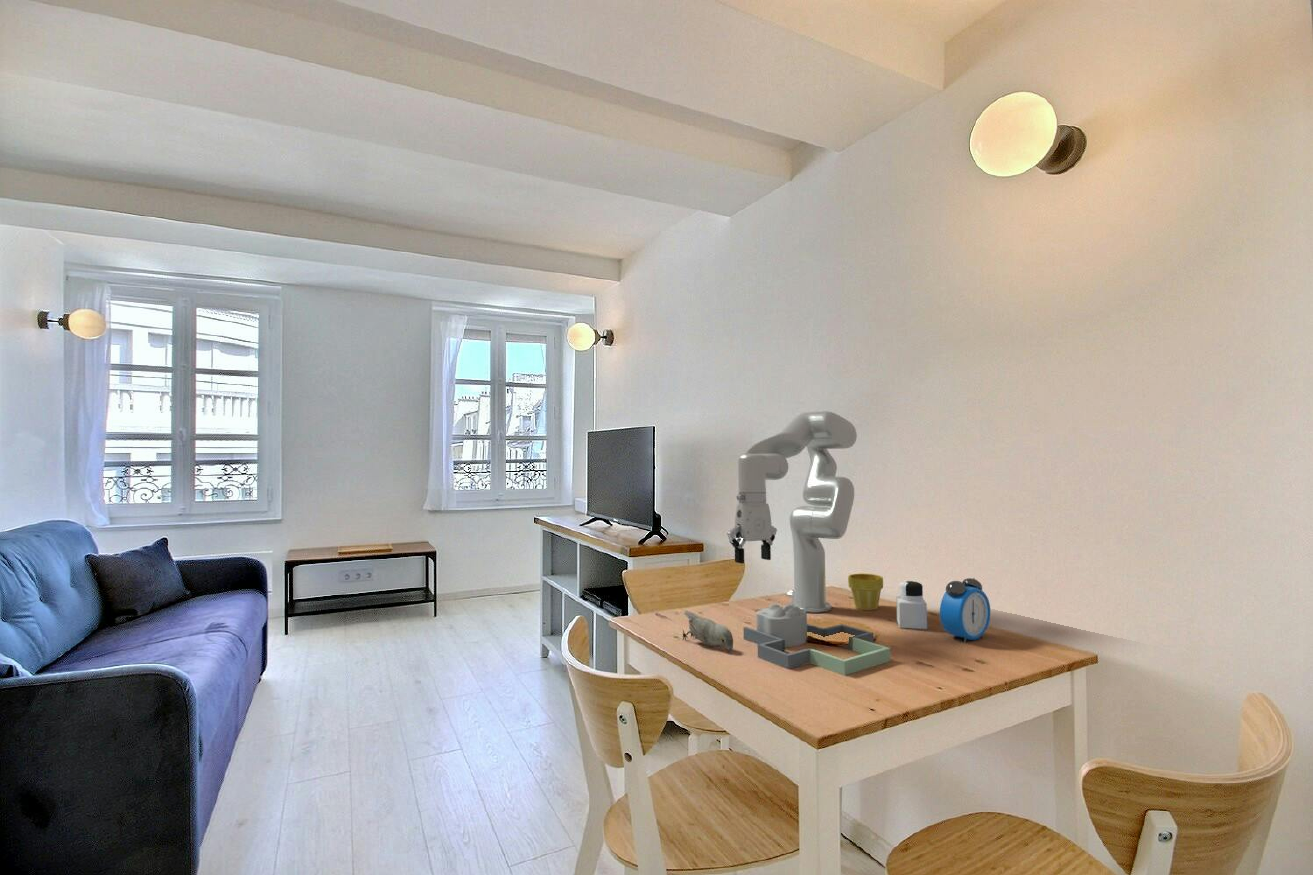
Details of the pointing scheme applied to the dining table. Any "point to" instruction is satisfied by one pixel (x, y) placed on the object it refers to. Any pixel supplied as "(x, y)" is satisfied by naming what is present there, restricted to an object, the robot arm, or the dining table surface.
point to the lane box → (861, 643)
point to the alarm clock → (965, 609)
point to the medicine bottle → (911, 606)
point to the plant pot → (865, 590)
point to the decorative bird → (709, 632)
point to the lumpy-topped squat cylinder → (784, 623)
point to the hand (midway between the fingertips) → (752, 561)
